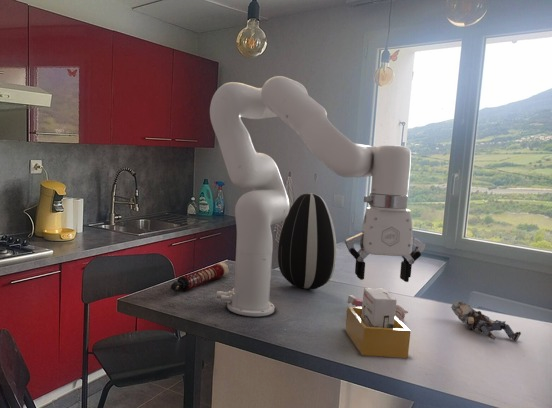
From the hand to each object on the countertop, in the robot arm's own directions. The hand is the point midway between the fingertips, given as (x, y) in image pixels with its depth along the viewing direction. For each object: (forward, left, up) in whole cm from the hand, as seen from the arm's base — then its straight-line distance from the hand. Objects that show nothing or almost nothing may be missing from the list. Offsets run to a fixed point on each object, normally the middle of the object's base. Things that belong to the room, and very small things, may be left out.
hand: (382, 279), depth 100 cm
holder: (0, 0, -15) cm, 15 cm away
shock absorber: (-41, +39, -15) cm, 59 cm away
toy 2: (+30, +12, -15) cm, 35 cm away
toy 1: (+6, +18, -15) cm, 24 cm away
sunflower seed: (-9, +41, -15) cm, 45 cm away
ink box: (0, 0, -15) cm, 15 cm away
